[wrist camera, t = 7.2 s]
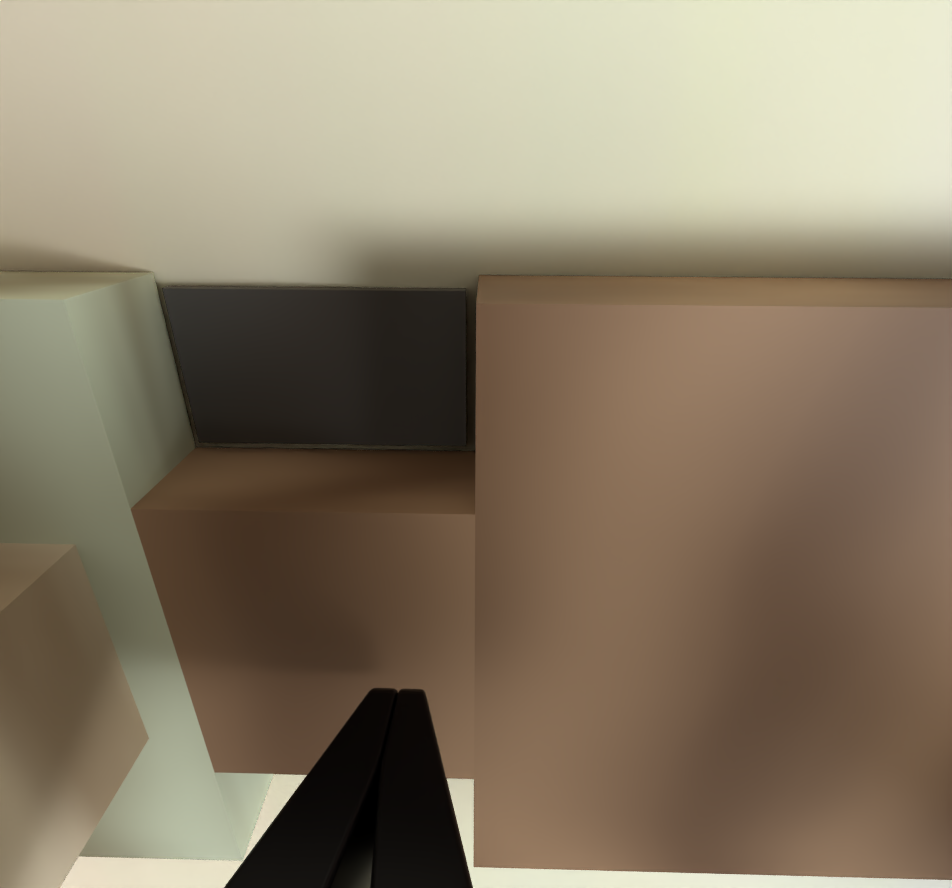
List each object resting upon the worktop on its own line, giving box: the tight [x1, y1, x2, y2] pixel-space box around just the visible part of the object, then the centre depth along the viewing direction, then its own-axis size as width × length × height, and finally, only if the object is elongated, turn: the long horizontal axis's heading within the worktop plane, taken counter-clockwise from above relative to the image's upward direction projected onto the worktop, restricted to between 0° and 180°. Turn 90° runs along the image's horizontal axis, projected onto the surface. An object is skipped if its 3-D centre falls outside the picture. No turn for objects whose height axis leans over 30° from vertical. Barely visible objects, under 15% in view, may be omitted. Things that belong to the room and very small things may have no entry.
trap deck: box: [0, 271, 952, 880], centre depth 10 cm, size 23×12×4 cm, turn 90°
